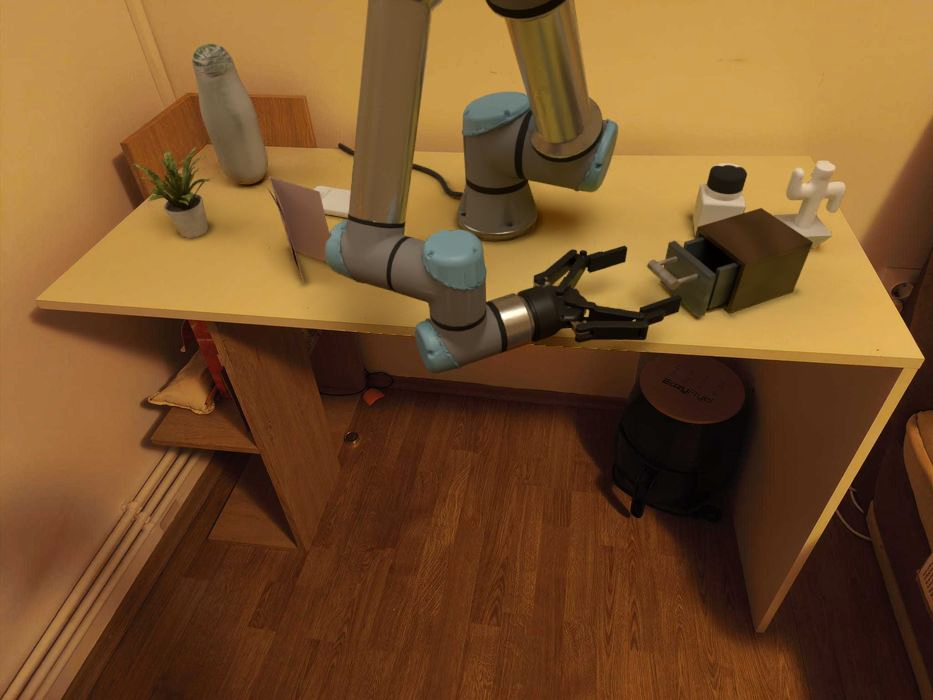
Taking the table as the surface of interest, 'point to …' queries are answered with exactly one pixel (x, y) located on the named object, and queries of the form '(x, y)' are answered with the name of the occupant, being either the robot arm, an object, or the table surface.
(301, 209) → the greeting card
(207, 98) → the grey bottle
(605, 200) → the table surface
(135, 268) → the table surface
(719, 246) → the cabinet
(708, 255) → the grey pull-out drawer
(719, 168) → the medicine bottle
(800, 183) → the figurine
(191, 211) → the house plant
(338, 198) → the hard drive
